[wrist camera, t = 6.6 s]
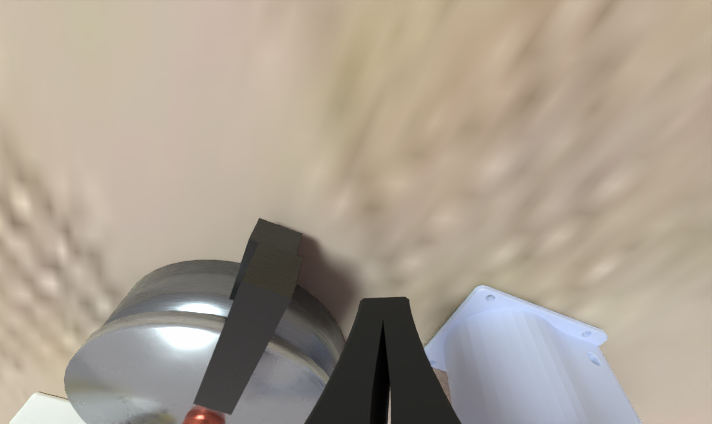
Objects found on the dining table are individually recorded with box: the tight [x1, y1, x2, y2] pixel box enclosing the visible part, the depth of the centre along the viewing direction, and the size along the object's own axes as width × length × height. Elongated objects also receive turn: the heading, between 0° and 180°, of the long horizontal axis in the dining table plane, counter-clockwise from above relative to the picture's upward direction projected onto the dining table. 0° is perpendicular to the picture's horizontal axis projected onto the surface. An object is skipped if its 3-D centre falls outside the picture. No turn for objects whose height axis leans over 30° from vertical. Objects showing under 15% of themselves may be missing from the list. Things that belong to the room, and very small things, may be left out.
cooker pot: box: [103, 218, 345, 378], centre depth 25 cm, size 20×16×4 cm
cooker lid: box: [64, 241, 329, 424], centre depth 21 cm, size 22×16×3 cm
